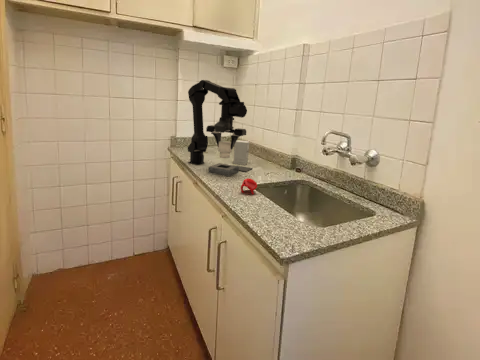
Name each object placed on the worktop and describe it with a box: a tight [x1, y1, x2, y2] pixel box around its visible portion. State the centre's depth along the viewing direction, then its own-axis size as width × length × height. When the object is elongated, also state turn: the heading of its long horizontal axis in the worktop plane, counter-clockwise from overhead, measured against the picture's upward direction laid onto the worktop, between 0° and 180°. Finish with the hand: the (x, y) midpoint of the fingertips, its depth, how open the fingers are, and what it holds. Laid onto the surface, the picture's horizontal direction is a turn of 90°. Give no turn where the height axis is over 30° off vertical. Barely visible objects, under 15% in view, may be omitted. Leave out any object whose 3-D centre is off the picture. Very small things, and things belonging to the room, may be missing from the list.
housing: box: [208, 162, 240, 177], centre depth 153 cm, size 11×11×3 cm
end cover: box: [217, 140, 233, 159], centre depth 151 cm, size 6×6×7 cm
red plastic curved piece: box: [240, 178, 258, 195], centre depth 124 cm, size 8×6×6 cm
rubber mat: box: [238, 165, 253, 173], centre depth 163 cm, size 9×9×1 cm
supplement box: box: [232, 139, 251, 166], centre depth 176 cm, size 7×7×13 cm
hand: (225, 148), depth 151 cm, fingers closed on end cover, 6 cm apart
